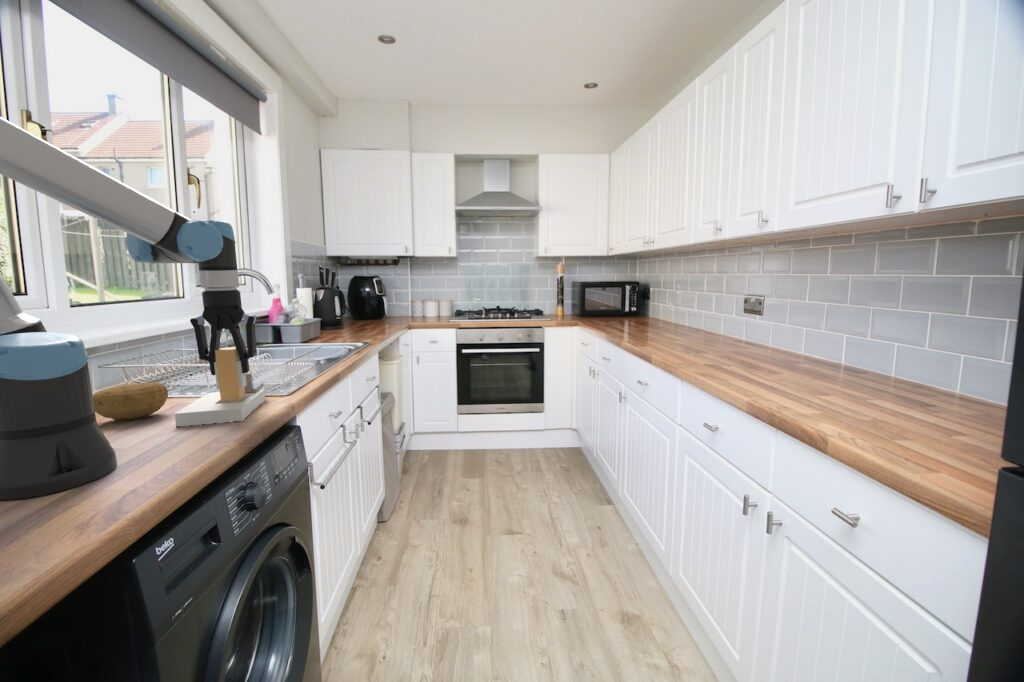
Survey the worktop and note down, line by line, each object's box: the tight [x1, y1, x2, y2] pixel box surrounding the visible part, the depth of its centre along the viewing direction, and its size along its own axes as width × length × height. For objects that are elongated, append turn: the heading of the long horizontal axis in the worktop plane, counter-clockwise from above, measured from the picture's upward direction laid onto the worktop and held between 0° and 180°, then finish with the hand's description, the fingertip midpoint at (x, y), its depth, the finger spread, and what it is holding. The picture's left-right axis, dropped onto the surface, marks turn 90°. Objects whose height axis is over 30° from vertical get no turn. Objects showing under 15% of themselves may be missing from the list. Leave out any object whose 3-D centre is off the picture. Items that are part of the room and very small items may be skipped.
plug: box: [215, 346, 245, 401], centre depth 107 cm, size 4×4×12 cm
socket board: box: [174, 388, 266, 427], centre depth 108 cm, size 18×13×3 cm
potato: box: [93, 381, 169, 421], centre depth 104 cm, size 10×14×8 cm
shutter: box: [245, 372, 264, 393], centre depth 116 cm, size 7×7×5 cm
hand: (232, 387), depth 108 cm, fingers closed on plug, 4 cm apart
